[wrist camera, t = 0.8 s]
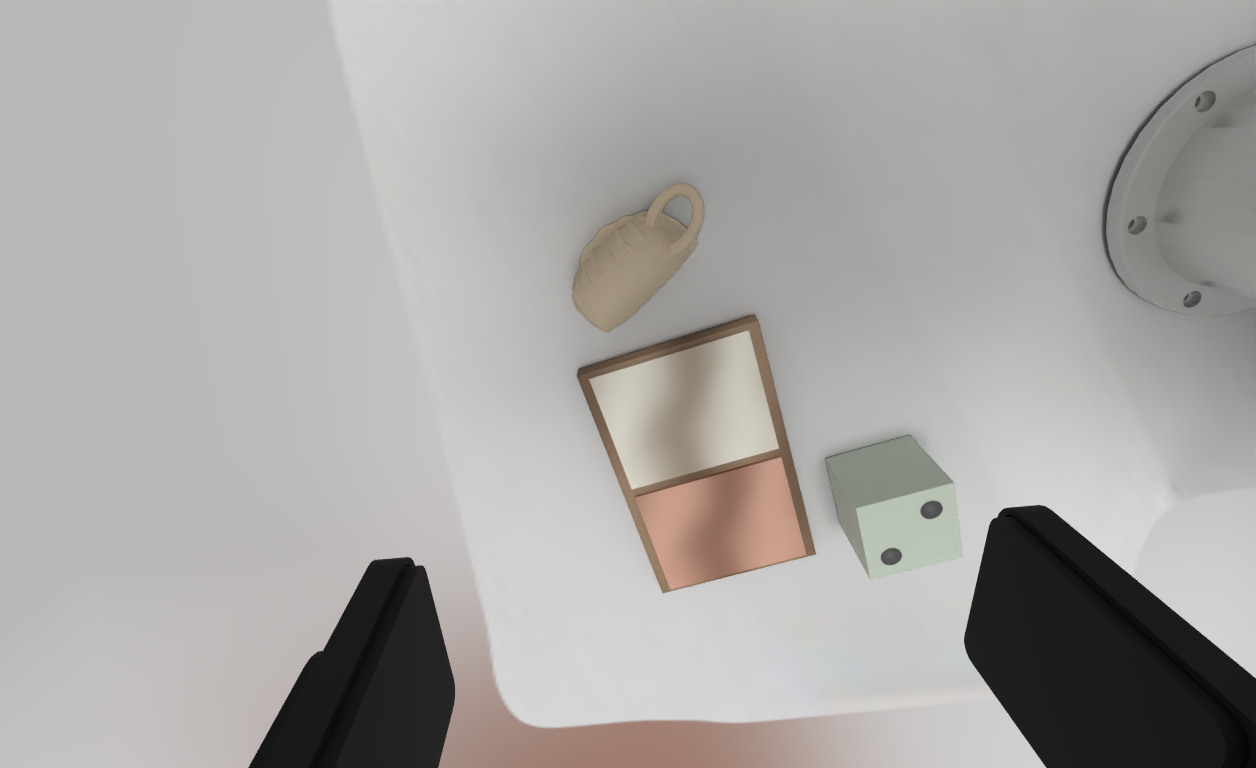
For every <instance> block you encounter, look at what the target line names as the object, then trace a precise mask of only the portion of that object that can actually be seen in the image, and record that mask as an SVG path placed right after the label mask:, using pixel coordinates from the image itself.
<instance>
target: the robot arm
mask: <svg viewBox="0 0 1256 768" xmlns="http://www.w3.org/2000/svg"><path fill="white" fill-rule="evenodd" d="M1106 236H1107V242H1108V249H1109V255H1110V257H1111V260H1112V262H1113V265H1114V267H1115V269H1116V272H1117V274H1118V275H1119V277H1120V278H1121V279H1122V280H1123V282H1124V283H1125V284H1126V285H1127V287H1128V288H1129V289H1130V290H1131V291H1133V292H1134V293H1135V294H1137V295H1138V296H1139V297H1141V298H1142V299H1143V300H1145V301H1147V302H1150V303H1152V304H1155V305H1157V306H1159V307H1162V308H1165V309H1168V310H1171V311H1175V312H1178V313H1181V314H1186V315H1201V316H1214V315H1222V314H1230V313H1236V312H1239V311H1243V310H1246V309H1250V308H1253V307H1256V45H1255V46H1252V47H1249V48H1246V49H1243V50H1240V51H1238V52H1236V53H1234V54H1232V55H1230V56H1229V57H1227V58H1225V59H1223V60H1221V61H1219V62H1217V63H1215V64H1213V65H1211V66H1210V67H1209V68H1207V69H1206V70H1204V71H1203V72H1202V73H1200V74H1199V75H1197V76H1196V77H1195V78H1193V79H1192V80H1190V81H1189V82H1188V83H1186V84H1185V85H1184V86H1183V87H1182V88H1181V89H1180V90H1179V91H1177V92H1176V93H1175V94H1174V95H1173V96H1172V97H1171V98H1170V99H1169V100H1168V101H1167V102H1166V103H1165V104H1164V105H1163V106H1162V107H1161V108H1160V109H1159V110H1158V111H1157V113H1156V114H1155V115H1154V116H1153V117H1152V119H1151V120H1150V121H1149V122H1148V124H1147V125H1146V126H1145V127H1144V129H1143V130H1142V131H1141V132H1140V134H1139V136H1138V137H1137V139H1136V141H1135V142H1134V144H1133V145H1132V147H1131V149H1130V150H1129V152H1128V154H1127V155H1126V157H1125V159H1124V161H1123V164H1122V166H1121V168H1120V171H1119V173H1118V175H1117V178H1116V180H1115V182H1114V185H1113V189H1112V193H1111V197H1110V201H1109V206H1108V210H1107V227H1106ZM964 643H965V649H966V652H967V654H968V657H969V659H970V660H971V662H972V664H973V665H974V666H975V668H976V669H977V671H978V672H979V673H980V675H981V676H982V678H983V679H984V681H985V682H986V683H987V685H988V686H989V688H990V689H991V690H992V692H993V693H994V695H995V696H996V697H997V699H998V700H999V702H1000V703H1001V704H1002V706H1003V707H1004V709H1005V710H1006V711H1007V713H1008V714H1009V715H1010V717H1011V718H1012V720H1013V721H1014V723H1015V724H1016V726H1017V727H1018V728H1019V730H1020V731H1021V733H1022V734H1023V735H1024V737H1025V738H1026V739H1027V741H1028V742H1029V744H1030V745H1031V747H1032V748H1033V750H1034V751H1035V752H1036V754H1037V755H1038V757H1039V758H1040V759H1041V761H1042V762H1043V764H1044V765H1045V766H1046V768H1256V678H1254V677H1253V676H1252V675H1251V674H1250V673H1248V672H1247V671H1246V670H1245V669H1244V668H1242V667H1241V666H1240V665H1239V664H1237V663H1236V662H1235V661H1234V660H1233V659H1231V658H1230V657H1229V656H1228V655H1226V654H1225V653H1224V652H1223V651H1222V650H1220V649H1219V648H1218V647H1217V646H1216V645H1214V644H1213V643H1212V642H1211V641H1210V640H1208V639H1207V638H1206V637H1205V636H1203V635H1202V634H1201V633H1200V632H1199V631H1197V630H1196V629H1195V628H1194V627H1193V626H1191V625H1190V624H1189V623H1188V622H1187V621H1185V620H1184V619H1183V618H1182V617H1180V616H1179V615H1178V614H1177V613H1176V612H1174V611H1173V610H1172V609H1171V608H1170V607H1168V606H1167V605H1166V604H1164V602H1162V601H1161V600H1160V599H1159V598H1157V597H1156V596H1155V595H1154V594H1153V593H1151V592H1150V591H1149V590H1148V589H1146V588H1145V587H1144V586H1143V585H1142V584H1140V583H1139V582H1138V581H1137V580H1136V579H1134V578H1133V577H1132V576H1131V575H1130V574H1128V573H1127V572H1126V571H1125V570H1123V569H1122V568H1121V567H1120V566H1119V565H1117V564H1116V563H1115V562H1114V561H1113V560H1111V559H1110V558H1109V557H1108V556H1106V555H1105V554H1104V553H1103V552H1102V551H1100V550H1099V549H1098V548H1097V547H1096V546H1094V545H1093V544H1092V543H1091V542H1089V541H1088V540H1087V539H1086V538H1085V537H1083V536H1082V535H1081V534H1080V533H1079V532H1077V531H1076V530H1075V529H1074V528H1073V527H1071V526H1070V525H1069V524H1068V523H1066V522H1065V521H1064V520H1063V519H1062V518H1060V517H1059V516H1058V515H1057V514H1056V513H1054V512H1053V511H1052V510H1050V509H1049V508H1047V507H1046V506H1041V505H1035V506H1023V507H1011V508H1005V509H1003V510H1002V511H1001V512H1000V513H999V515H998V517H997V518H994V519H993V520H992V521H991V523H990V525H989V529H988V534H987V538H986V543H985V547H984V552H983V556H982V561H981V565H980V569H979V574H978V578H977V583H976V587H975V592H974V596H973V601H972V605H971V609H970V614H969V618H968V623H967V627H966V632H965V637H964ZM454 700H455V683H454V678H453V674H452V670H451V667H450V662H449V659H448V655H447V651H446V647H445V643H444V639H443V635H442V631H441V628H440V623H439V620H438V616H437V612H436V608H435V604H434V600H433V596H432V593H431V589H430V584H429V581H428V577H427V573H426V570H425V568H424V566H415V564H414V561H413V560H412V559H411V558H409V557H405V558H393V559H382V560H374V561H372V562H371V563H370V565H369V566H368V568H367V570H366V572H365V574H364V575H363V577H362V579H361V581H360V583H359V585H358V586H357V589H356V590H355V592H354V594H353V596H352V598H351V600H350V601H349V603H348V605H347V607H346V609H345V611H344V613H343V614H342V616H341V618H340V620H339V622H338V624H337V626H336V628H335V629H334V631H333V633H332V635H331V637H330V639H329V641H328V643H327V644H326V646H325V648H324V650H323V651H320V652H317V653H316V654H314V655H313V656H312V657H311V658H310V659H309V661H308V662H307V664H306V665H305V667H304V668H303V670H302V672H301V674H300V676H299V677H298V679H297V681H296V683H295V685H294V686H293V688H292V690H291V692H290V694H289V695H288V697H287V699H286V701H285V703H284V705H283V706H282V708H281V710H280V712H279V713H278V715H277V717H276V719H275V721H274V723H273V724H272V726H271V728H270V730H269V731H268V733H267V735H266V737H265V739H264V740H263V742H262V744H261V746H260V748H259V750H258V751H257V753H256V755H255V757H254V759H253V760H252V762H251V764H250V766H249V768H438V766H439V762H440V758H441V754H442V750H443V746H444V742H445V738H446V734H447V730H448V727H449V722H450V719H451V715H452V711H453V706H454Z"/></svg>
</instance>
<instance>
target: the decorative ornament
mask: <svg viewBox="0 0 1256 768" xmlns="http://www.w3.org/2000/svg"><path fill="white" fill-rule="evenodd" d="M677 196H685V197H687V198H688V199H689V200H690V202H691V205H692V217H691V221H690V224H689V226H688V228H687V229H686V228H685V227H684V226H683V225H682V224H680V223H679V222H678V221H677V220H675V219H673V218H671V217H669V216H668V215H666V214H665V213H663V212H662V211H663V209H664V207H665V206H666V205H667V203H668V202H669V201H670V200H671V199H673V198H674V197H677ZM703 220H704V202H703V199H702V197H701V195H700V193H699V192H698V191H697V189H695V188H694V187H693V186H691V185H689V184H684V183H680V184H674V185H672V186H670V187H668V188H666V189H665V190H663V191H662V192H661V193H660V194H659V195H658V196H657V197H656V198H655V199H654V201H653V203H652V204H651V206H650V208H649V210H648V211H641V212H640V213H638V214H636V215H631V216H623V217H622V218H620V219H619V220H618V221H616V222H614V223H611V224H609V225H606V226H605V227H603V228H602V229H600V230H599V232H598V233H597V235H596V236H595V238H594V239H593V240H592V241H591V242H590V243H589V244H588V245H587V246H586V248H585V249H584V250H583V253H582V255H581V258H580V269H579V270H578V272H577V274H576V275H575V278H574V280H575V281H574V283H573V287H572V288H573V293H572V297H573V302H574V305H575V307H576V308H577V310H578V311H579V312H580V313H581V314H582V315H583V316H584V318H586V319H587V320H588V321H589V322H590V323H591V324H593V325H594V326H596V327H598V328H600V329H601V330H603V331H605V332H609V331H611V330H612V329H613V328H615V327H617V326H619V325H620V324H622V323H623V322H625V321H626V320H627V319H628V318H630V317H631V316H632V315H633V314H634V313H635V312H637V311H638V310H639V309H640V308H641V307H642V306H643V305H644V304H645V303H646V302H647V301H648V300H649V299H650V298H651V297H652V296H653V295H654V294H655V293H656V292H657V291H658V290H659V289H660V288H661V287H662V286H663V285H664V284H665V283H666V282H667V281H668V280H669V279H670V278H671V277H672V276H673V275H674V274H675V273H676V272H677V270H678V269H679V268H680V267H681V266H682V264H683V263H684V262H685V261H686V259H687V258H688V257H689V256H690V254H691V253H692V252H693V251H694V250H695V248H696V246H697V245H698V243H699V242H698V240H697V239H696V237H697V235H698V234H699V232H700V229H701V227H702V224H703Z"/></svg>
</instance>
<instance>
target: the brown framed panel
mask: <svg viewBox="0 0 1256 768" xmlns="http://www.w3.org/2000/svg"><path fill="white" fill-rule="evenodd" d="M577 378H578V380H579V383H580V385H581V388H582V390H583V393H584V395H585V398H586V400H587V403H588V406H589V408H590V411H591V413H592V416H593V418H594V421H595V423H596V426H597V428H598V431H599V433H600V436H601V438H602V441H603V443H604V446H605V449H606V451H607V454H608V456H609V459H610V461H611V464H612V466H613V469H614V471H615V474H616V476H617V479H618V481H619V484H620V487H621V489H622V492H623V494H624V497H625V499H626V502H627V504H628V507H629V509H630V512H631V514H632V517H633V519H634V522H635V524H636V527H637V530H638V532H639V535H640V537H641V540H642V542H643V545H644V547H645V550H646V552H647V555H648V557H649V560H650V562H651V565H652V567H653V570H654V573H655V575H656V578H657V580H658V583H659V585H660V588H661V590H662V593H666V592H669V591H673V590H677V589H681V588H685V587H689V586H693V585H697V584H701V583H705V582H709V581H713V580H717V579H721V578H724V577H728V576H732V575H736V574H740V573H744V572H748V571H752V570H756V569H760V568H764V567H768V566H772V565H775V564H779V563H783V562H787V561H791V560H795V559H799V558H803V557H807V556H811V555H815V554H816V552H815V548H814V544H813V540H812V536H811V532H810V528H809V524H808V520H807V516H806V512H805V508H804V504H803V500H802V496H801V492H800V488H799V484H798V480H797V476H796V472H795V468H794V464H793V459H792V455H791V451H790V447H789V443H788V439H787V435H786V431H785V427H784V423H783V419H782V415H781V411H780V407H779V403H778V399H777V395H776V391H775V387H774V383H773V379H772V375H771V371H770V367H769V363H768V359H767V355H766V351H765V347H764V342H763V338H762V334H761V330H760V326H759V322H758V320H757V318H756V317H755V315H752V316H749V317H746V318H743V319H739V320H736V321H733V322H730V323H726V324H723V325H720V326H717V327H713V328H710V329H707V330H704V331H701V332H697V333H694V334H691V335H688V336H684V337H681V338H678V339H675V340H671V341H668V342H665V343H662V344H659V345H655V346H652V347H649V348H646V349H642V350H639V351H636V352H633V353H629V354H626V355H623V356H620V357H617V358H613V359H610V360H607V361H604V362H600V363H597V364H594V365H591V366H587V367H584V368H581V369H578V374H577Z"/></svg>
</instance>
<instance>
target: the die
mask: <svg viewBox="0 0 1256 768" xmlns="http://www.w3.org/2000/svg"><path fill="white" fill-rule="evenodd" d="M825 460H826V464H827V469H828V473H829V478H830V482H831V487H832V491H833V496H834V500H835V505H836V509H837V514H838V518H839V523H840V525H841V527H842V529H843V531H844V532H845V534H846V536H847V538H848V540H849V542H850V543H851V545H852V547H853V549H854V551H855V553H856V554H857V556H858V558H859V560H860V562H861V563H862V565H863V567H864V569H865V571H866V573H867V574H868V576H869V578H870V580H873V579H877V578H881V577H885V576H889V575H893V574H897V573H901V572H905V571H909V570H913V569H917V568H921V567H925V566H929V565H933V564H937V563H942V562H946V561H950V560H954V559H958V558H962V557H963V551H962V543H961V534H960V526H959V518H958V509H957V501H956V492H955V484H954V482H953V481H952V480H951V479H950V477H949V476H948V475H947V474H946V473H945V472H944V471H943V470H942V469H941V468H940V467H939V466H938V465H937V464H936V463H935V461H934V460H933V459H932V458H931V457H930V456H929V455H928V454H927V453H926V452H925V451H924V450H923V449H922V448H921V447H920V445H919V444H918V443H917V442H916V441H915V440H914V439H913V438H912V437H911V436H910V435H908V436H905V437H901V438H897V439H894V440H890V441H886V442H883V443H879V444H875V445H872V446H868V447H865V448H861V449H857V450H854V451H850V452H846V453H843V454H839V455H835V456H832V457H828V458H825Z"/></svg>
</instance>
